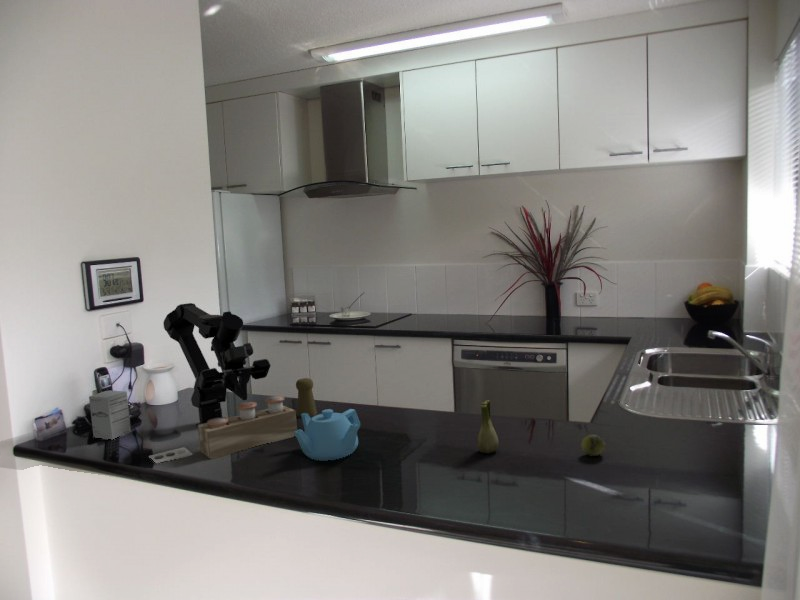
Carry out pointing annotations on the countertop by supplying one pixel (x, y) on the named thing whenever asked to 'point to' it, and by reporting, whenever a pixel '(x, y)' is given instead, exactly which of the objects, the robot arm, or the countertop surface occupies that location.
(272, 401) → the button
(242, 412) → the middle button
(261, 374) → the robot arm
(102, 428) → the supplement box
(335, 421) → the teapot
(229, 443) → the button box
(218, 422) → the button
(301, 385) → the cork
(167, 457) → the pattern card
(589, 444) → the lime
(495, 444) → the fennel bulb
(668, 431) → the countertop surface
